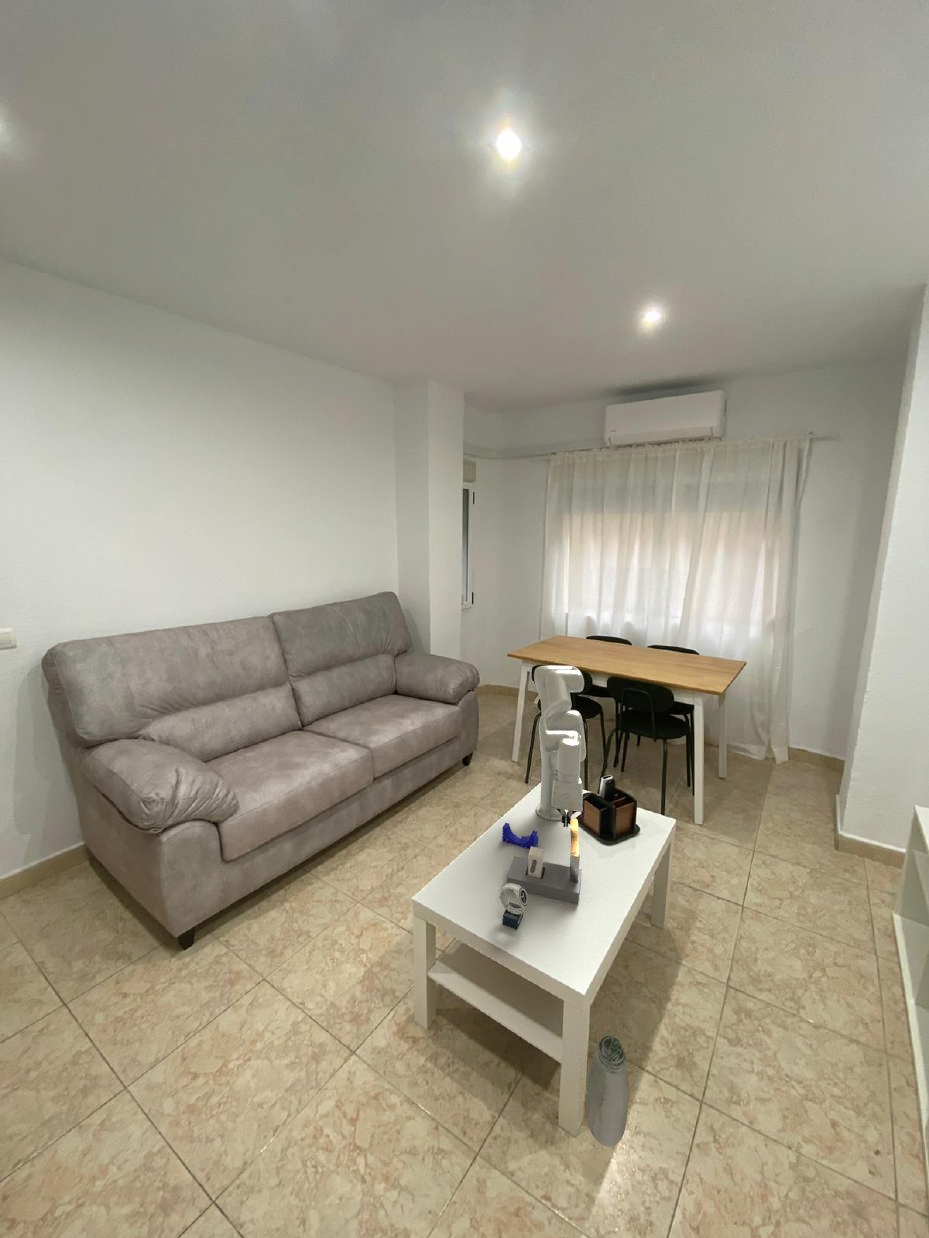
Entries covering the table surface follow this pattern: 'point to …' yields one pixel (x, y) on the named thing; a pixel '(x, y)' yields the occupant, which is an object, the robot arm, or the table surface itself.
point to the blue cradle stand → (523, 841)
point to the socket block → (546, 881)
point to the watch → (514, 905)
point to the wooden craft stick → (574, 852)
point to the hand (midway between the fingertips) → (565, 824)
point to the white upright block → (535, 862)
